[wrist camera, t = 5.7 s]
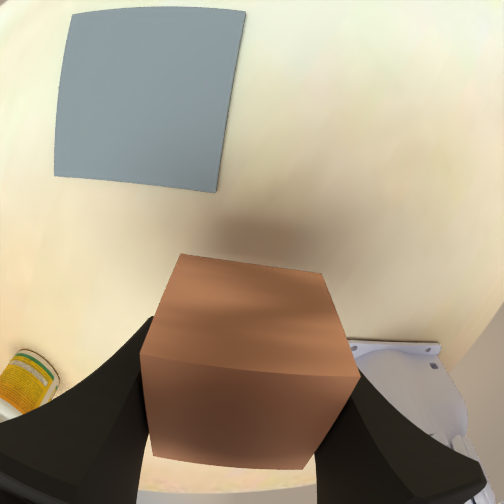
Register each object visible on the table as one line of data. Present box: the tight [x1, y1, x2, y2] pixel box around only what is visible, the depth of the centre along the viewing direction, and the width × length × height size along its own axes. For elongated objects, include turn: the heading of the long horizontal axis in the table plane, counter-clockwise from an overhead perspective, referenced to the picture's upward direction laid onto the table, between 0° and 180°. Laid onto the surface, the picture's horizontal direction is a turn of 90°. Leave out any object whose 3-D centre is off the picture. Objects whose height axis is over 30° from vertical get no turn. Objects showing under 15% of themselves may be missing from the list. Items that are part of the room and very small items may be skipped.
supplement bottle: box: [0, 350, 59, 423], centre depth 20 cm, size 5×5×10 cm
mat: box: [54, 7, 246, 193], centre depth 14 cm, size 10×10×1 cm
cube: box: [140, 254, 361, 470], centre depth 10 cm, size 5×5×5 cm
